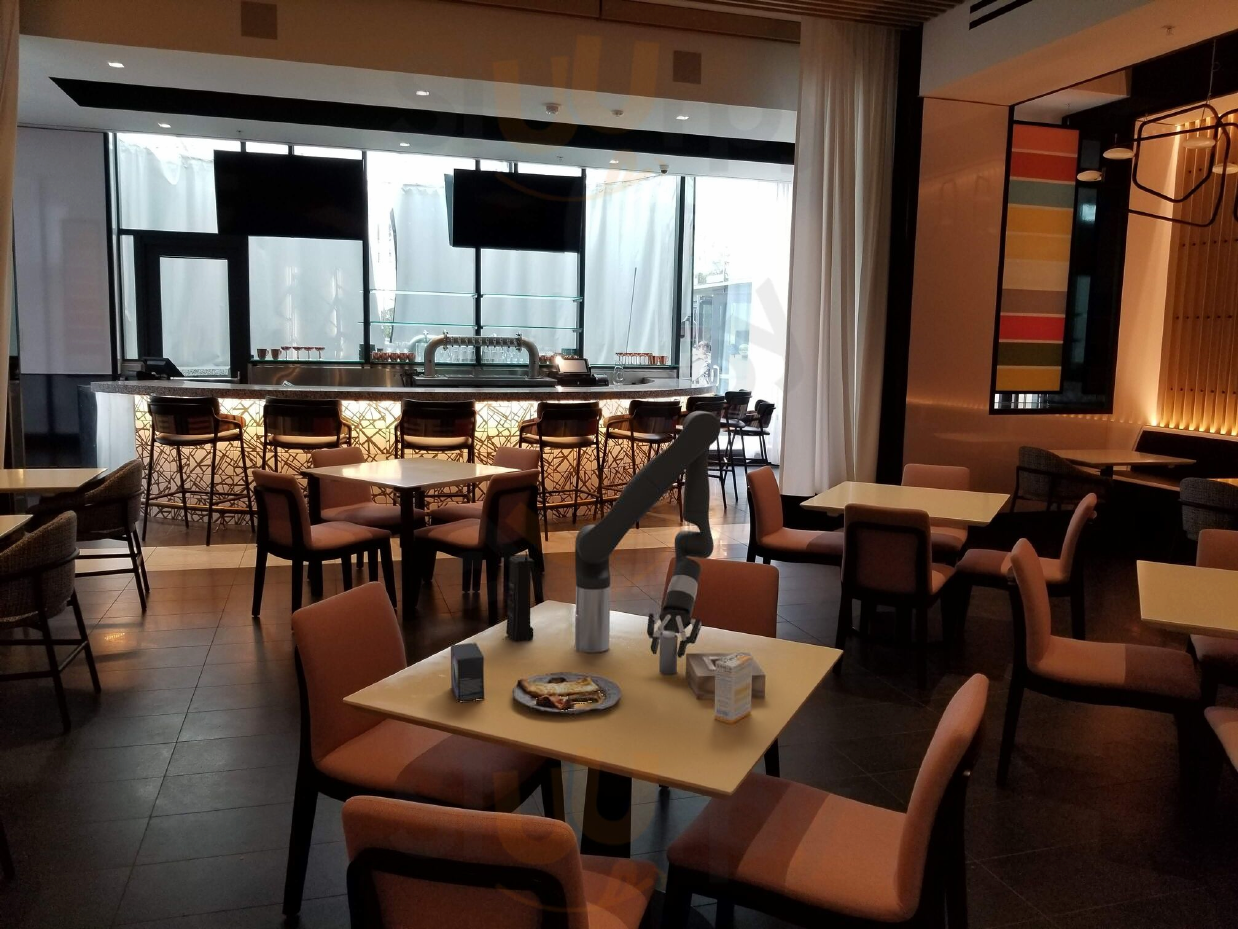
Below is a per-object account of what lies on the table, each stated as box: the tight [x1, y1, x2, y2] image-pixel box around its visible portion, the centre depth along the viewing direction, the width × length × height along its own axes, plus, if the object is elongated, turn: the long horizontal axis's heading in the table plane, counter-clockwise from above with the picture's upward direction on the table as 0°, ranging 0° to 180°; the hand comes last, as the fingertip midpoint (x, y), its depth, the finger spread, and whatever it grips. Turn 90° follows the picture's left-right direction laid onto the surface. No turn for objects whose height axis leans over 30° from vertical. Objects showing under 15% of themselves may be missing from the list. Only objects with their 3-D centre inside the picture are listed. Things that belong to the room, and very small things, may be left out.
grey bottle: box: [658, 631, 679, 675], centre depth 226 cm, size 4×4×10 cm
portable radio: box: [505, 550, 535, 643], centre depth 250 cm, size 8×6×25 cm
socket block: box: [685, 652, 766, 700], centre depth 216 cm, size 16×16×6 cm
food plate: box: [512, 671, 622, 715], centre depth 207 cm, size 25×23×4 cm
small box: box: [450, 642, 485, 703], centre depth 208 cm, size 11×6×10 cm, turn 19°
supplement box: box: [713, 652, 753, 725], centre depth 197 cm, size 8×5×13 cm, turn 141°
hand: (666, 654), depth 224 cm, fingers open, 6 cm apart
